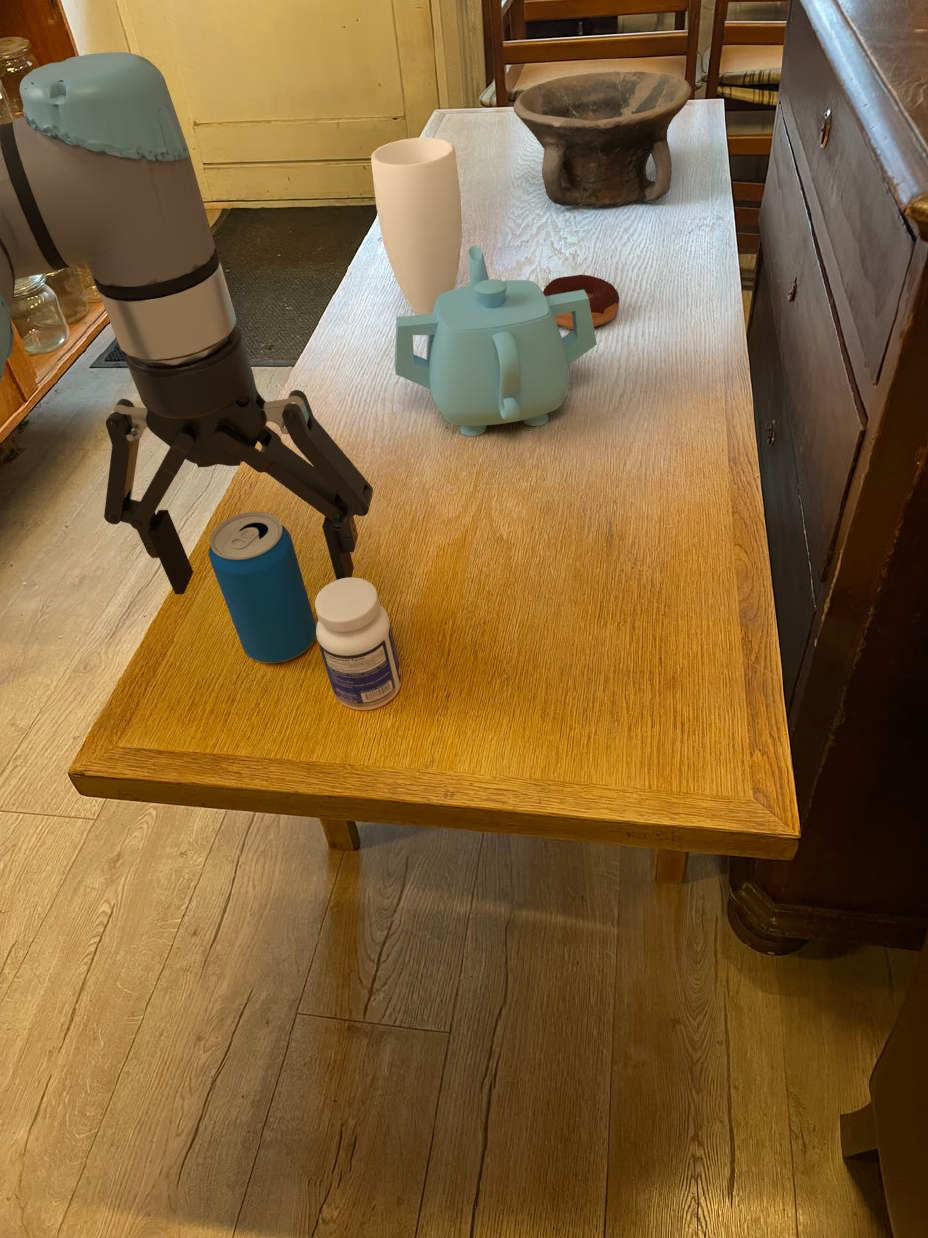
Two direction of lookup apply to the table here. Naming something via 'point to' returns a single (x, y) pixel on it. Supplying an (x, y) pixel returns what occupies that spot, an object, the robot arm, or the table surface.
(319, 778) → the table surface
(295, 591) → the beverage can
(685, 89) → the brown clay pot
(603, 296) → the donut
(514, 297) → the teapot
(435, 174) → the cup
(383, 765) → the table surface
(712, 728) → the table surface
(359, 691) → the pill bottle
